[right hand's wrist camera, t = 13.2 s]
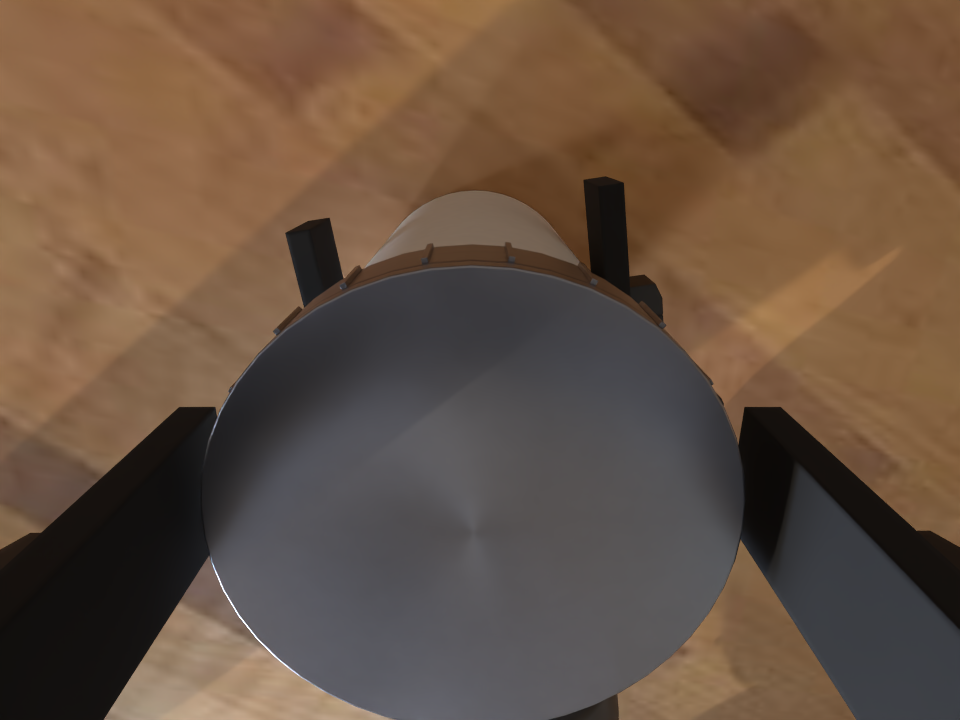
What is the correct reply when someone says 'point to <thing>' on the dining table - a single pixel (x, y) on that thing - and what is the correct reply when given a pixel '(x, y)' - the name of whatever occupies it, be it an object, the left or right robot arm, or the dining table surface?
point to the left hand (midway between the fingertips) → (453, 203)
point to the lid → (472, 488)
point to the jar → (475, 226)
